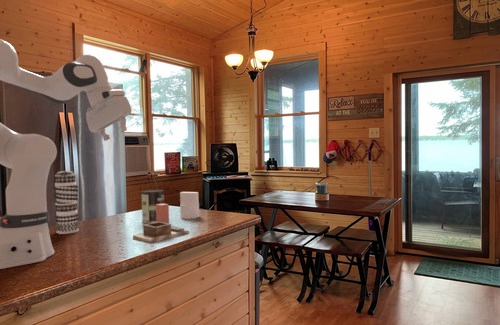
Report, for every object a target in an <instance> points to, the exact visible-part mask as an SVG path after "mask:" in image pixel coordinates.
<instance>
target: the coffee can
mask: <svg viewBox="0 0 500 325" xmlns="http://www.w3.org/2000/svg"><path fill="white" fill-rule="evenodd" d="M140 193H141V214H142V215H141V216H142V223H144V224H150V223H155V222H156V204H165V190H164V189H146V190H141V192H140Z"/></svg>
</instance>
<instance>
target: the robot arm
mask: <svg viewBox="0 0 500 325" xmlns="http://www.w3.org/2000/svg"><path fill="white" fill-rule="evenodd" d="M0 82H2V83H4V84H7V85H9V86H13V87H15V88H18V89H22V90H24V91H28V92H30V93H33V94H36V95H40V96H42V97H44V98H46V99H47V100H49V101H51V102H52V103H54V104H58V105H64V104H68V103H69V102H70V101H72V99H74V97H76V96H77V95H78V94H79V93H81V92H85V93H86V97H87V100H88V103H89V104H90V107H88V108H87V109H86V112H85V119H86V123H87V127H88V129H89V130H88V131H90V132H91V133H98V135H100V136H101V137H102V139H103V141H109V140H110V139H111V137H110V134H107V133H106V129H107V128H108V127H110V126H112V125H114V124H115V123H117V122H119V123H120V126H119V128H118V129H119V131H120V132H121V133H123V132H126V131H128V130H127V129H128V128H127V126H126V125H127V119H126V118H127V117H128V116H130V115H131V114H132V111H133V110H132V107H131V104H130V101H129V100H128V98H127V96H126V93H125V90H124V89H113V88H112V86H111V85H110V84H109V77H108V75H107V72H106V70H105V67H104V65H103V63H102V62H101V60H100V59H99V57H97V56H96V55H94V54H93V55H92V54H83V55H80V56H79V57H77V59H75V60H74V61H70V62H67V63H65V64H63V65H62V66H61V67H60V68H58V69H57V71H55V73H53V74H52V75H49V76H42V75H39V74H37V73H35V72H32V71H28V70H26V69H23V68H22V67H20V66H19V56H18V53H17V51H16V49H15V48H14V46H12V44H11V43H9V42H8V41H5V40H3V39H2V38H0ZM57 154H58V150H57V146H56V144H55V142H54V141H53V140H52V139H50V138H49V137H47V136H44V135H42V134H38V133H25V134H24V133H19V132H16V131H14V130H12V129H10V128H9V127H8V126H6V125H4V124H3V123H2V122H0V165H1V166H3V167H5V168H8V169H11V173H10V178H9V182H8V184H7V186H6V188H5V207H6V213H5V215H3V216H0V270H3V269H7V268H13V267H14V268H15V267H19V266H24V265H28V264H33V263H34V264H35V263H39V262H44V261H45V260H47V258H49V257H51V256H53V255H54V254H55V249H54V247H53V244H52V239H51V236H50V230H49V227H50V212H49V210H48V206H47V186H48V184H47V183H48V177H49V174H50V169H51V166H52V164H54V163H53V162H55V160H56V158H57Z"/></svg>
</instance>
